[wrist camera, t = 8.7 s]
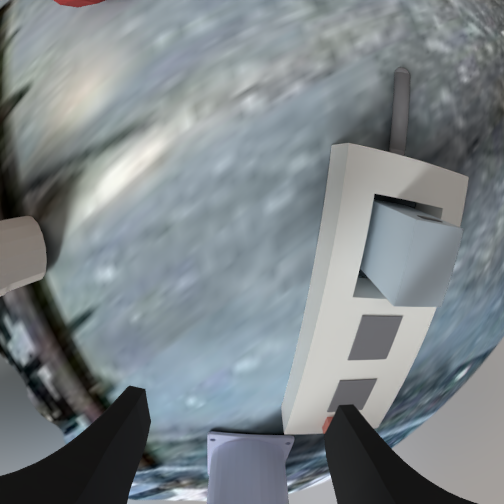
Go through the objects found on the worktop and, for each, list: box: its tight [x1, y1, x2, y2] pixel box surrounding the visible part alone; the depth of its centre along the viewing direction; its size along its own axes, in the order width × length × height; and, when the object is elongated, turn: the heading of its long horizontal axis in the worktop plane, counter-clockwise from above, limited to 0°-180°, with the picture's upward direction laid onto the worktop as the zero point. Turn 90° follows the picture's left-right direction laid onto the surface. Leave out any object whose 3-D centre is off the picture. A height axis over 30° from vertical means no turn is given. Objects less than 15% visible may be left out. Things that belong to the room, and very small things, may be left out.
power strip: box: [281, 67, 469, 434], centre depth 16 cm, size 26×8×4 cm, turn 174°
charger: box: [360, 200, 463, 307], centre depth 14 cm, size 4×3×6 cm
